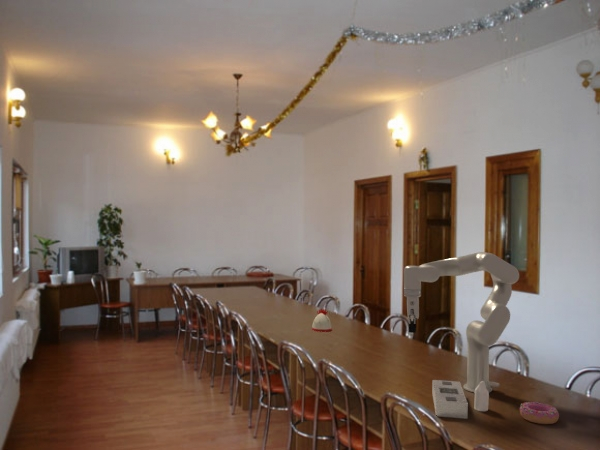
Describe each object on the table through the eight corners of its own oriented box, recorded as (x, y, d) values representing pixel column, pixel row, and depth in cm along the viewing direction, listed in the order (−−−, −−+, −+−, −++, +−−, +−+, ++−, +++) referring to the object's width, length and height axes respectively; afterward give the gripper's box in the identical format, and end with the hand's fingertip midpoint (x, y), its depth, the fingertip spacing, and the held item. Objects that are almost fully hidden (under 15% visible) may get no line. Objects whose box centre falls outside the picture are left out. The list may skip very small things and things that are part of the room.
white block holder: (459, 395, 243) (460, 381, 243) (467, 418, 214) (467, 403, 214) (432, 393, 246) (432, 379, 246) (436, 416, 216) (436, 400, 216)
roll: (478, 377, 229) (491, 380, 226) (477, 405, 230) (490, 409, 226) (472, 380, 225) (485, 383, 221) (471, 409, 225) (484, 412, 221)
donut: (547, 412, 223) (548, 400, 223) (566, 425, 209) (566, 412, 209) (513, 412, 222) (513, 400, 222) (529, 425, 208) (529, 412, 208)
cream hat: (325, 332, 377) (325, 311, 377) (308, 330, 384) (308, 309, 384) (335, 329, 389) (335, 308, 389) (318, 327, 396) (318, 306, 396)
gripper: (420, 295, 239) (420, 334, 239) (421, 290, 256) (421, 327, 256) (403, 295, 241) (403, 333, 241) (404, 290, 258) (404, 326, 258)
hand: (412, 330), depth 249 cm, fingers open, 9 cm apart
